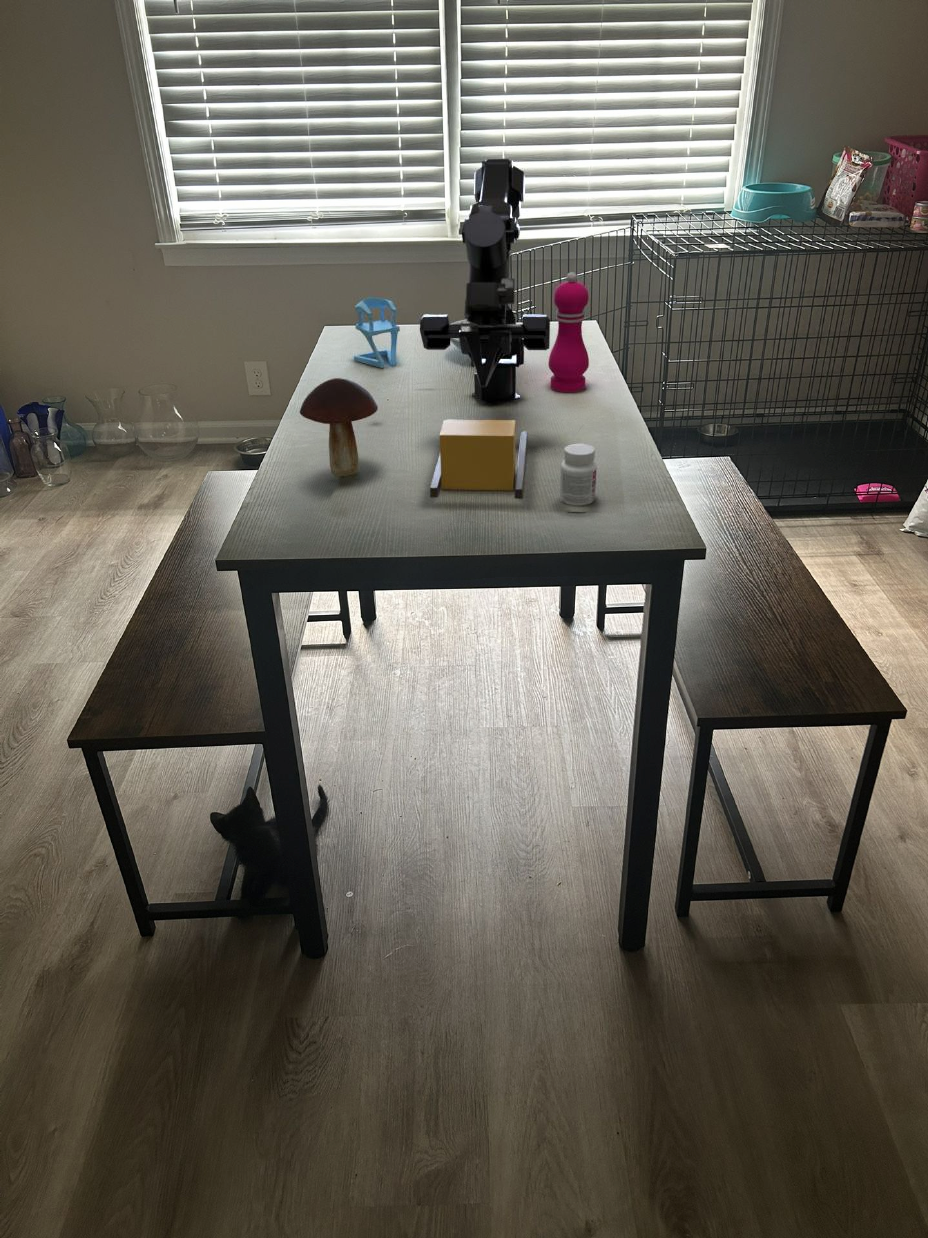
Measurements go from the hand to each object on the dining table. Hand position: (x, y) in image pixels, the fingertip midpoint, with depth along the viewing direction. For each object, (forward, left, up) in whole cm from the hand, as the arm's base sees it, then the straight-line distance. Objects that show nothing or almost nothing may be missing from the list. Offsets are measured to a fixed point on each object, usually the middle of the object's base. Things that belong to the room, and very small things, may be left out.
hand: (483, 385), depth 136 cm
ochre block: (+6, +8, -11) cm, 14 cm away
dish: (-28, -48, -12) cm, 57 cm away
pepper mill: (-31, -22, -12) cm, 40 cm away
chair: (-9, -55, -12) cm, 57 cm away
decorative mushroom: (+20, -6, -12) cm, 24 cm away
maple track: (+2, +4, -12) cm, 13 cm away
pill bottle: (-3, +20, -12) cm, 24 cm away
